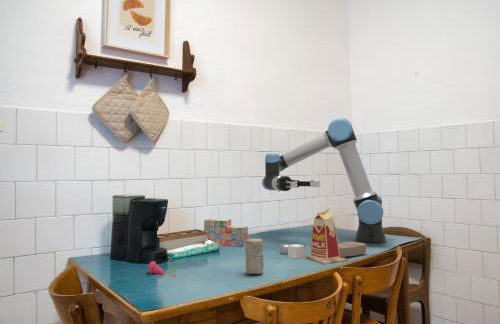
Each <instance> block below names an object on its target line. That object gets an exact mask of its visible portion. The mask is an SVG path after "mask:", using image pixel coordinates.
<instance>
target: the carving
mask: <svg viewBox="0 0 500 324" xmlns="http://www.w3.org/2000/svg"><path fill="white" fill-rule="evenodd" d="M244 247H245V248H244V252H245V271H246V273H247V274H249V275H259V274H263V273H264V267H265V266H264V254H263V252H264V240H263V238H257V237H256V238H248V239H247V241H246V245H245V246H244Z"/></svg>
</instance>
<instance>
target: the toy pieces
mask: <svg viewBox="0 0 500 324" xmlns="http://www.w3.org/2000/svg"><path fill="white" fill-rule="evenodd" d="M147 271H148V273H149V274H152V275H153V273H154V275H153V276H152V278H153V277H157V278H156V279H162V278H161V277H163V275H167V274H168V275H167V276H169V275H170V276H171V275H172V276H171V277H170V278H176V277H177V275H176V273H177V272H178V270H175V269H170V270H167V271H166V272H165V271H164V270H163V269H162V268H161V267H160V266H159V264H157V263H156V261H153V260H152V261H150V262H149V264H148V267H147ZM166 273H167V274H166ZM174 273H175V274H174ZM175 276H176V277H175ZM163 278H164V277H163Z"/></svg>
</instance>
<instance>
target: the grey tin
mask: <svg viewBox="0 0 500 324" xmlns="http://www.w3.org/2000/svg"><path fill="white" fill-rule="evenodd" d="M288 245H292V244H291V243H280V244H279V254H280V255H282V256H288Z"/></svg>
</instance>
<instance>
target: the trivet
mask: <svg viewBox="0 0 500 324" xmlns="http://www.w3.org/2000/svg"><path fill="white" fill-rule="evenodd" d="M304 259H307V260H310V261H313V262H317V263H319V264H322V265H329V264H335V263H340V262H341V263H343V262H348V260H349V259H348V258H346V257H340V258H338V259H331V260H321V259H317V258H314V257H311V255H305V258H304Z"/></svg>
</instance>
